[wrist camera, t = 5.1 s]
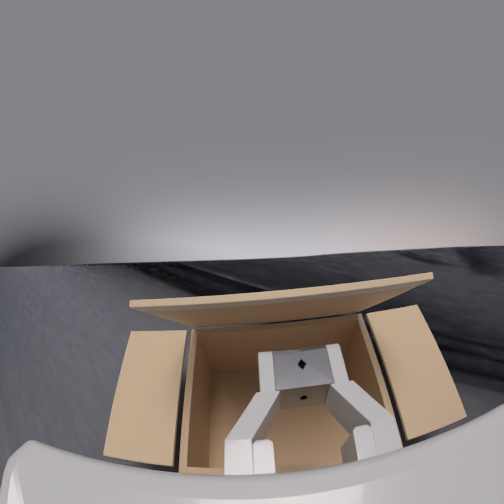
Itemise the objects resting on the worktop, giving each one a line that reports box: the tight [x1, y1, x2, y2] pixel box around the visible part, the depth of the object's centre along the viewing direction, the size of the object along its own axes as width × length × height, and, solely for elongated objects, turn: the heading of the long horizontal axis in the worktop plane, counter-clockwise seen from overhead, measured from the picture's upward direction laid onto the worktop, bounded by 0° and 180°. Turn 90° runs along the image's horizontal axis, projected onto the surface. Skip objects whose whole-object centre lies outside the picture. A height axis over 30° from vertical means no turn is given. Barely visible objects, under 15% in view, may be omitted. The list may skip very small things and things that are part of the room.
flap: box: [130, 272, 433, 327], centre depth 17 cm, size 14×1×12 cm
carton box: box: [103, 305, 467, 475], centre depth 17 cm, size 25×20×7 cm
